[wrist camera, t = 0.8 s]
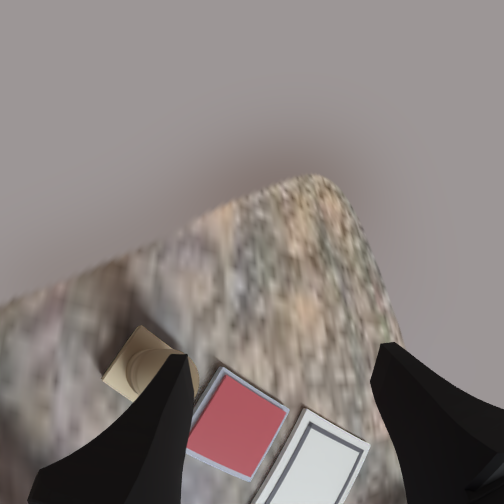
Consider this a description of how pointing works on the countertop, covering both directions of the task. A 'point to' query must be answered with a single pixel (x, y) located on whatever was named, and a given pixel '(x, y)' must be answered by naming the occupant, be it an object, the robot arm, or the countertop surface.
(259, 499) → the marked board
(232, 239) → the countertop surface
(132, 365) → the stamp
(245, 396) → the ink pad
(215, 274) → the countertop surface
